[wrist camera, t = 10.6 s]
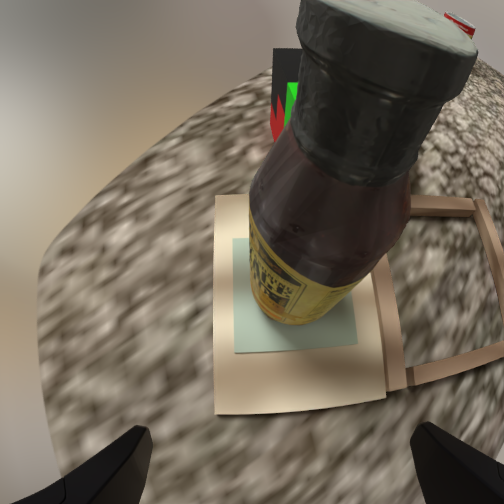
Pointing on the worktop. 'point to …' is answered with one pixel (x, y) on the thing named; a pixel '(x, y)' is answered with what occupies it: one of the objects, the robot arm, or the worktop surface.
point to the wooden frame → (323, 328)
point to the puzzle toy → (283, 86)
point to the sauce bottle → (348, 148)
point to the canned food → (461, 23)
